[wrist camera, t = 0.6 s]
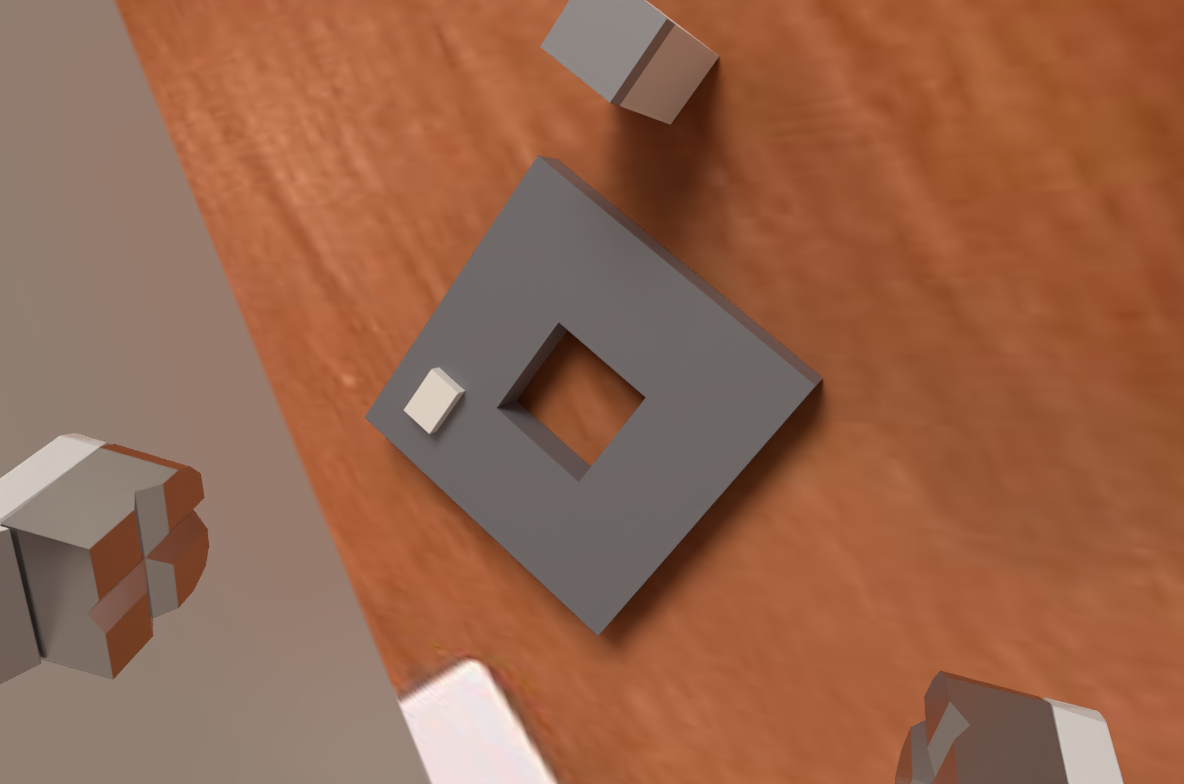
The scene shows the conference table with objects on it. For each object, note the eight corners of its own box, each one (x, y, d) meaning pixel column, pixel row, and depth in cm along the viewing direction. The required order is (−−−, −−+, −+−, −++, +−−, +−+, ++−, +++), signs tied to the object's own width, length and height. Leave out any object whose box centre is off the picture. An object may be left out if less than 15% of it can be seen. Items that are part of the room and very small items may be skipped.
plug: (658, 9, 48) (593, -38, 40) (719, 56, 47) (666, 18, 39) (611, 78, 49) (540, 46, 41) (670, 124, 48) (609, 102, 40)
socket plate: (557, 158, 51) (531, 154, 48) (822, 378, 48) (813, 388, 45) (388, 409, 57) (356, 419, 54) (613, 618, 54) (592, 641, 51)
